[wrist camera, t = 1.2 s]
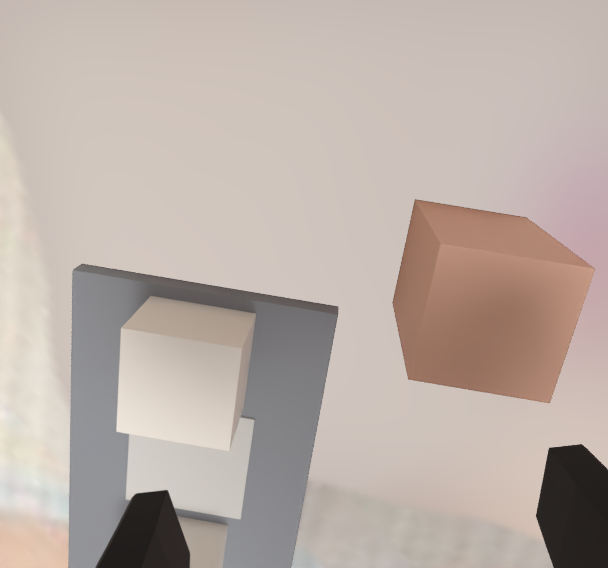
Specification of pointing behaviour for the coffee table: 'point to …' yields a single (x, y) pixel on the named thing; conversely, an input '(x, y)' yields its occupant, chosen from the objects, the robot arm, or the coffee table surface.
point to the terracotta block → (486, 301)
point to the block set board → (268, 399)
